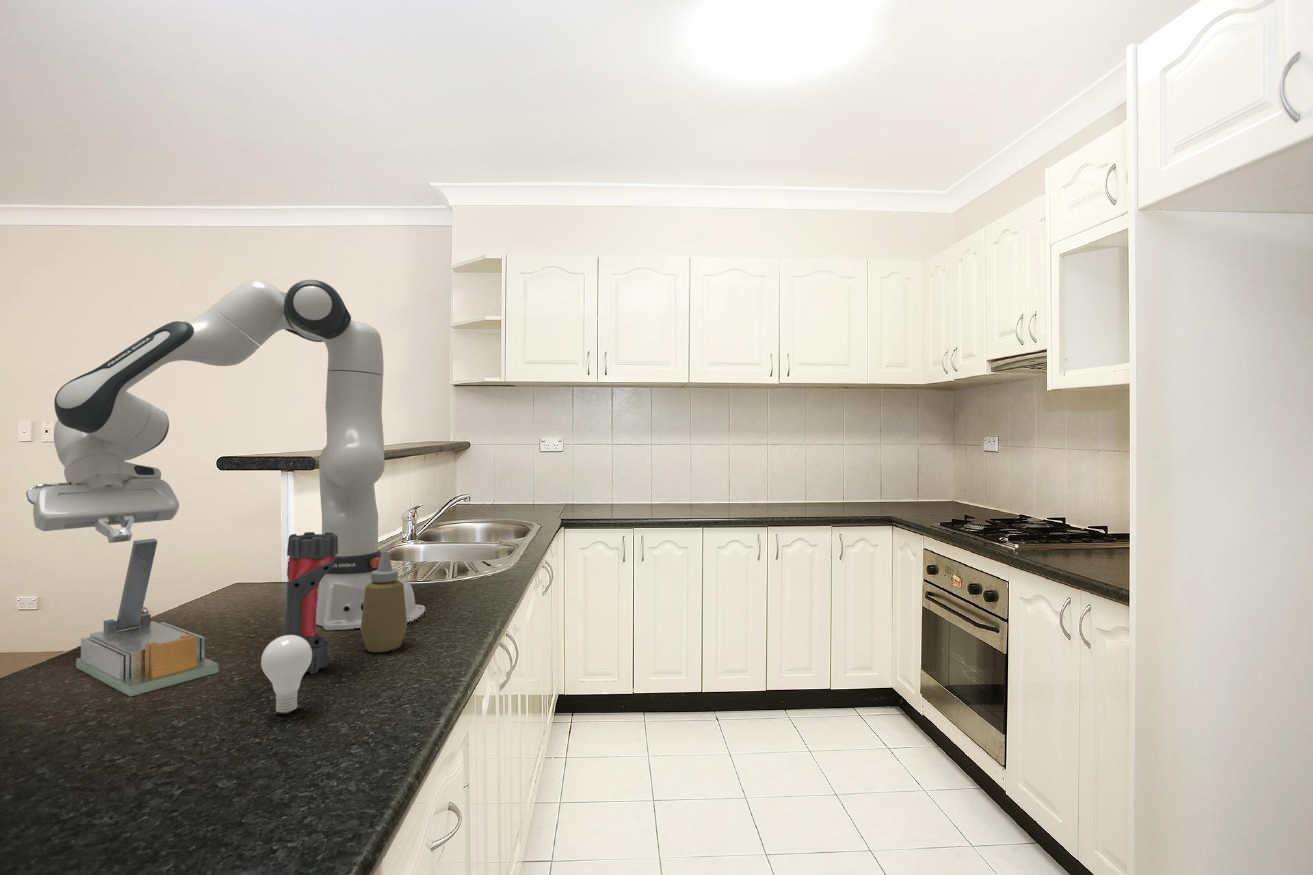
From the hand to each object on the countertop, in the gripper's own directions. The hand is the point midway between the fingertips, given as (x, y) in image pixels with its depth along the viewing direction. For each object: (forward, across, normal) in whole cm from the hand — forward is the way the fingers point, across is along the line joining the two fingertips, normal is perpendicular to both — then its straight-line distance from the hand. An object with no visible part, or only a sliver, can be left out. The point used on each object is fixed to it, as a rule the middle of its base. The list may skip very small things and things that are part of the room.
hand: (121, 539), depth 114 cm
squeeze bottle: (+39, +29, -9) cm, 49 cm away
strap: (+10, 0, 0) cm, 10 cm away
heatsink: (+23, 0, +7) cm, 24 cm away
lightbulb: (+48, +4, -19) cm, 52 cm away
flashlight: (+39, +15, -9) cm, 42 cm away
